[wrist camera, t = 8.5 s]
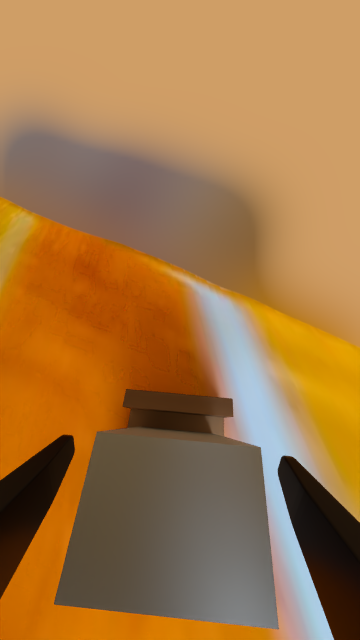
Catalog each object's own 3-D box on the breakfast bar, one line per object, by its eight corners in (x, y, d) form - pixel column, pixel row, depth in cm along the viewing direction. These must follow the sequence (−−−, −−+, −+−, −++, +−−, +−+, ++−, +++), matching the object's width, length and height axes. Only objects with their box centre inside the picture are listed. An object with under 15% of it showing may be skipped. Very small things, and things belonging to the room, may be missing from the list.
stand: (223, 540, 13) (240, 580, 10) (111, 528, 13) (89, 564, 10) (221, 403, 18) (232, 398, 14) (135, 395, 18) (126, 389, 14)
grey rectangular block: (212, 497, 14) (278, 629, 5) (130, 488, 14) (53, 604, 5) (212, 433, 16) (260, 447, 7) (140, 426, 16) (97, 432, 7)
